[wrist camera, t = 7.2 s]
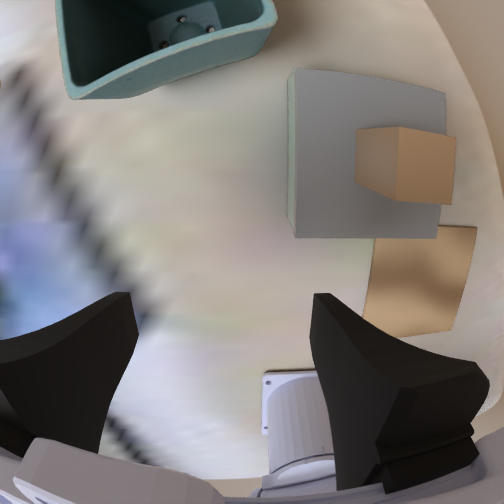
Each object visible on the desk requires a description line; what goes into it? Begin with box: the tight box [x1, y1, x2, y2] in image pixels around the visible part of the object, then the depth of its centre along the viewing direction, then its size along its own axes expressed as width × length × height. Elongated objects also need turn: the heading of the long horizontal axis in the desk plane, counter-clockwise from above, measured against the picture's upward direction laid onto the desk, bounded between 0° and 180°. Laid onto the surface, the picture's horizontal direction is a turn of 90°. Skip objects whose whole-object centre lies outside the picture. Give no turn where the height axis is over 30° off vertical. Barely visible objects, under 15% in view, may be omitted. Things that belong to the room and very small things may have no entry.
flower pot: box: [55, 0, 278, 100], centre depth 12 cm, size 9×9×9 cm
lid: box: [293, 68, 456, 239], centre depth 12 cm, size 9×9×6 cm
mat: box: [362, 226, 477, 338], centre depth 22 cm, size 10×10×1 cm
